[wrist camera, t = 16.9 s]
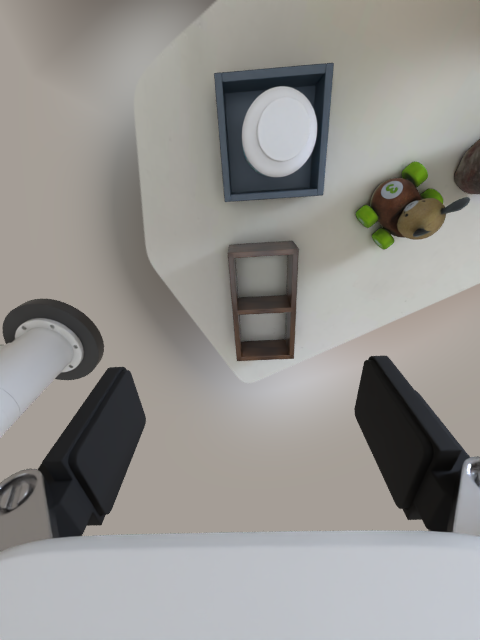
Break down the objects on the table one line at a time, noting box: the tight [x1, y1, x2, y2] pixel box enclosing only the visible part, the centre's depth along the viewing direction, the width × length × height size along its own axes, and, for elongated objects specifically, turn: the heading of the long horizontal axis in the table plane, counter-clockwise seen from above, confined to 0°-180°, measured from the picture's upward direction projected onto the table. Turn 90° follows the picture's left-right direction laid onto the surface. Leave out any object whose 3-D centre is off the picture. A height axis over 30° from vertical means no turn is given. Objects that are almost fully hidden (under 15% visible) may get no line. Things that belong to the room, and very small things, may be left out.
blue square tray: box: [214, 63, 334, 202], centre depth 33 cm, size 13×13×5 cm
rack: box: [228, 241, 299, 361], centre depth 44 cm, size 10×19×5 cm, turn 4°
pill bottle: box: [242, 86, 317, 177], centre depth 29 cm, size 8×7×14 cm
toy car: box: [356, 162, 470, 249], centre depth 34 cm, size 9×9×11 cm
